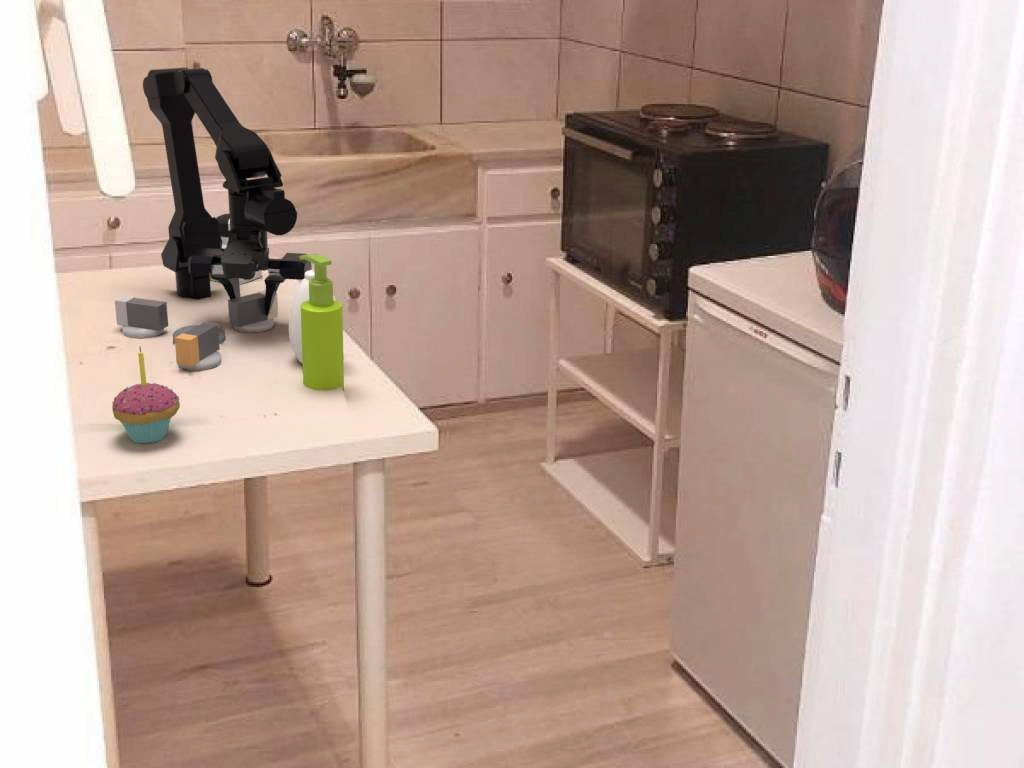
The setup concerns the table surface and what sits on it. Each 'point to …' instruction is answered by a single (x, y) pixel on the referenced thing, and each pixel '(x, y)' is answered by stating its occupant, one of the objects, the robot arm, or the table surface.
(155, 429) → the cupcake
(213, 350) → the knob
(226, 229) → the medicine bottle
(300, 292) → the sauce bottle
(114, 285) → the table surface
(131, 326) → the knob near
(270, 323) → the knob
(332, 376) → the soap dispenser
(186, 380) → the table surface
